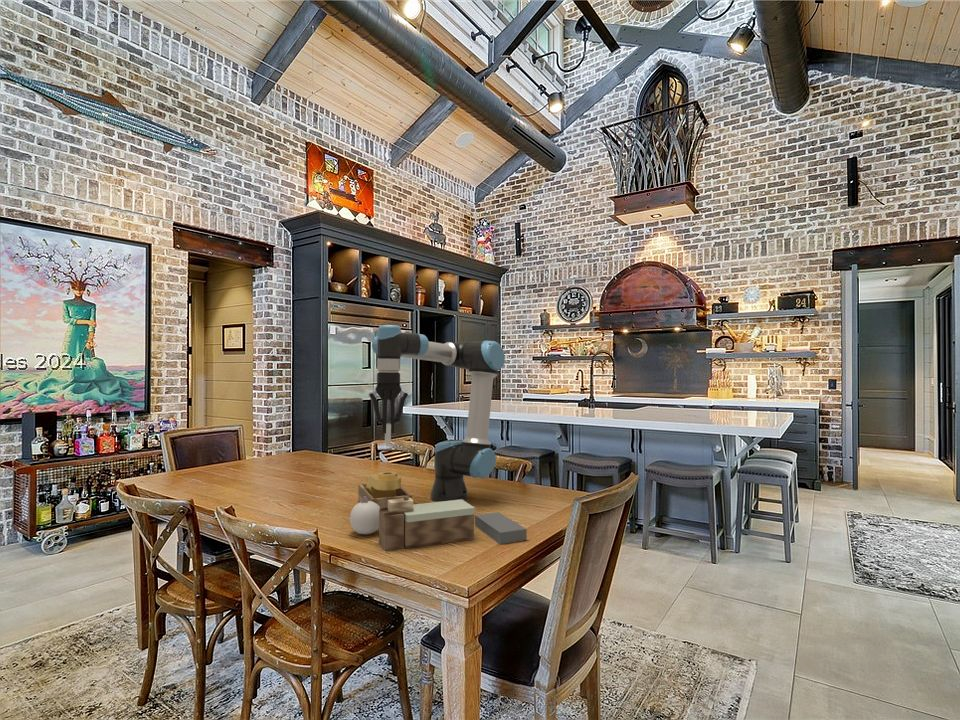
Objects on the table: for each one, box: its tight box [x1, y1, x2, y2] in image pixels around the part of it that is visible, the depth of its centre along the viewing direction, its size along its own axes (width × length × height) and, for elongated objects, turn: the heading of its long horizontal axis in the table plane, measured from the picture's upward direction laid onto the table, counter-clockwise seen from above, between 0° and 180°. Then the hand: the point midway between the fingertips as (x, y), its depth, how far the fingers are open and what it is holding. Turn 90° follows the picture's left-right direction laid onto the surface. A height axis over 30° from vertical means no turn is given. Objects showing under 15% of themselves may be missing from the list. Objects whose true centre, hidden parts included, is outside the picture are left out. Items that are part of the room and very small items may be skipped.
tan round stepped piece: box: [366, 470, 402, 499], centre depth 186 cm, size 20×9×16 cm, turn 28°
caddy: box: [357, 482, 413, 508], centre depth 186 cm, size 14×25×9 cm, turn 23°
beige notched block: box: [388, 496, 415, 512], centre depth 155 cm, size 7×4×4 cm, turn 113°
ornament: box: [349, 496, 380, 535], centre depth 165 cm, size 10×10×12 cm
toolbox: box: [378, 507, 475, 552], centre depth 158 cm, size 28×9×11 cm, turn 113°
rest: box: [474, 511, 527, 545], centre depth 166 cm, size 9×20×4 cm, turn 23°
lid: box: [403, 499, 476, 522], centre depth 159 cm, size 22×11×2 cm, turn 113°
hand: (387, 443), depth 169 cm, fingers closed
